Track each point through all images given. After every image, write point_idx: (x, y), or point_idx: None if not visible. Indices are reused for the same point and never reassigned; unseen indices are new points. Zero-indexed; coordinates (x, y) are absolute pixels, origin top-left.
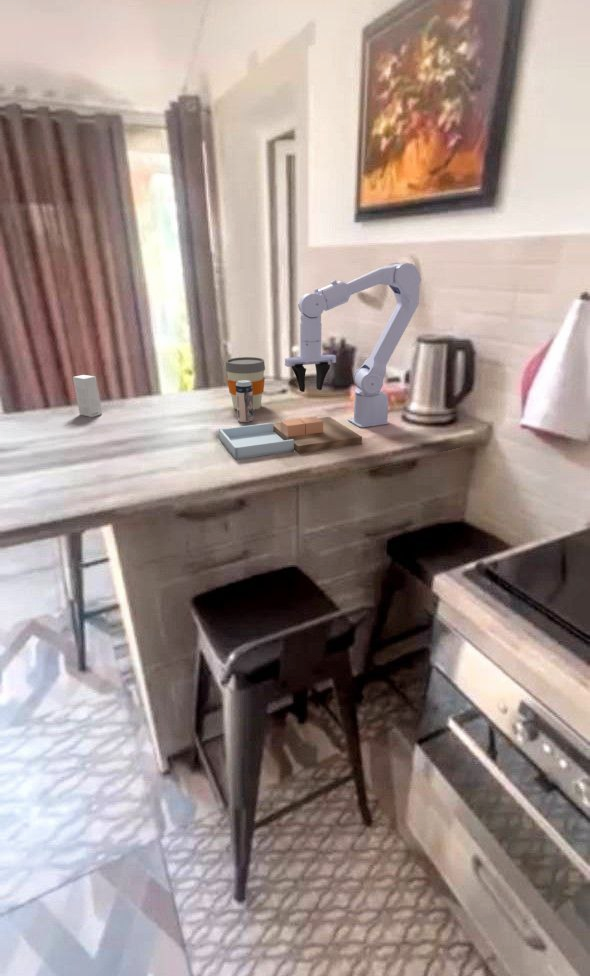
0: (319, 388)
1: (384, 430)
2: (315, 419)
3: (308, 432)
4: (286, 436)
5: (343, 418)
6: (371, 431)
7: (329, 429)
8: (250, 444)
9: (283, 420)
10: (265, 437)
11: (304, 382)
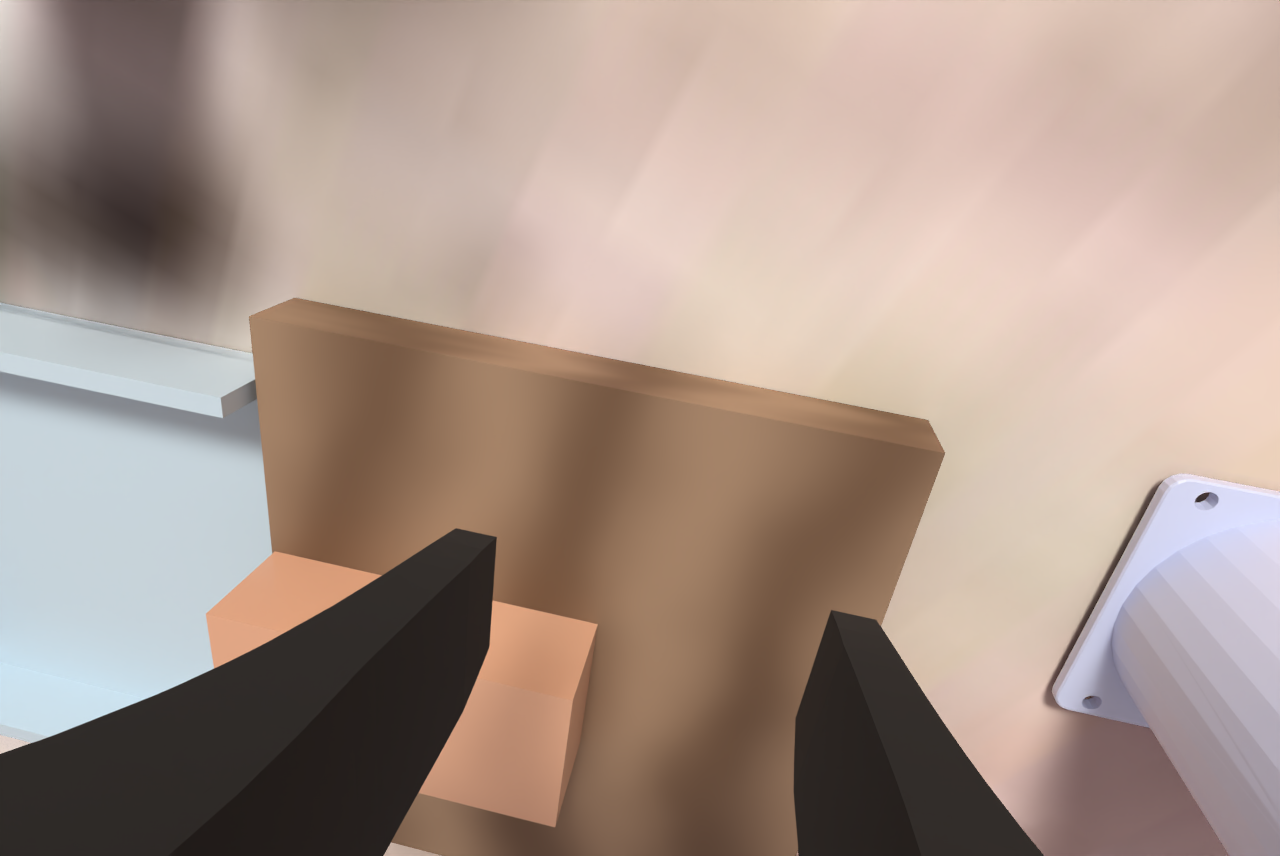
0: (796, 741)
1: (1162, 824)
2: (519, 760)
3: None
4: None
5: (1217, 364)
6: (1051, 782)
7: (663, 730)
8: (55, 540)
9: (231, 623)
10: (180, 478)
11: (390, 832)
